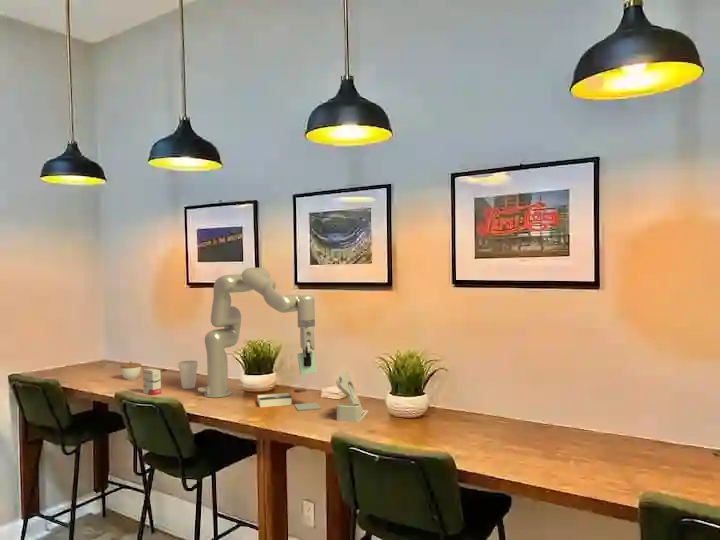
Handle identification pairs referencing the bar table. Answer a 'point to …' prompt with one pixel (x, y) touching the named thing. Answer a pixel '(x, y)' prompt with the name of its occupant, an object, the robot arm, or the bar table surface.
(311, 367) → the ticket
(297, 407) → the mat
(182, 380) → the foam cup
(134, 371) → the lidded jar
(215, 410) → the bar table surface
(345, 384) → the phone holder
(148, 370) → the ink box
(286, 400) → the box
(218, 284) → the robot arm
